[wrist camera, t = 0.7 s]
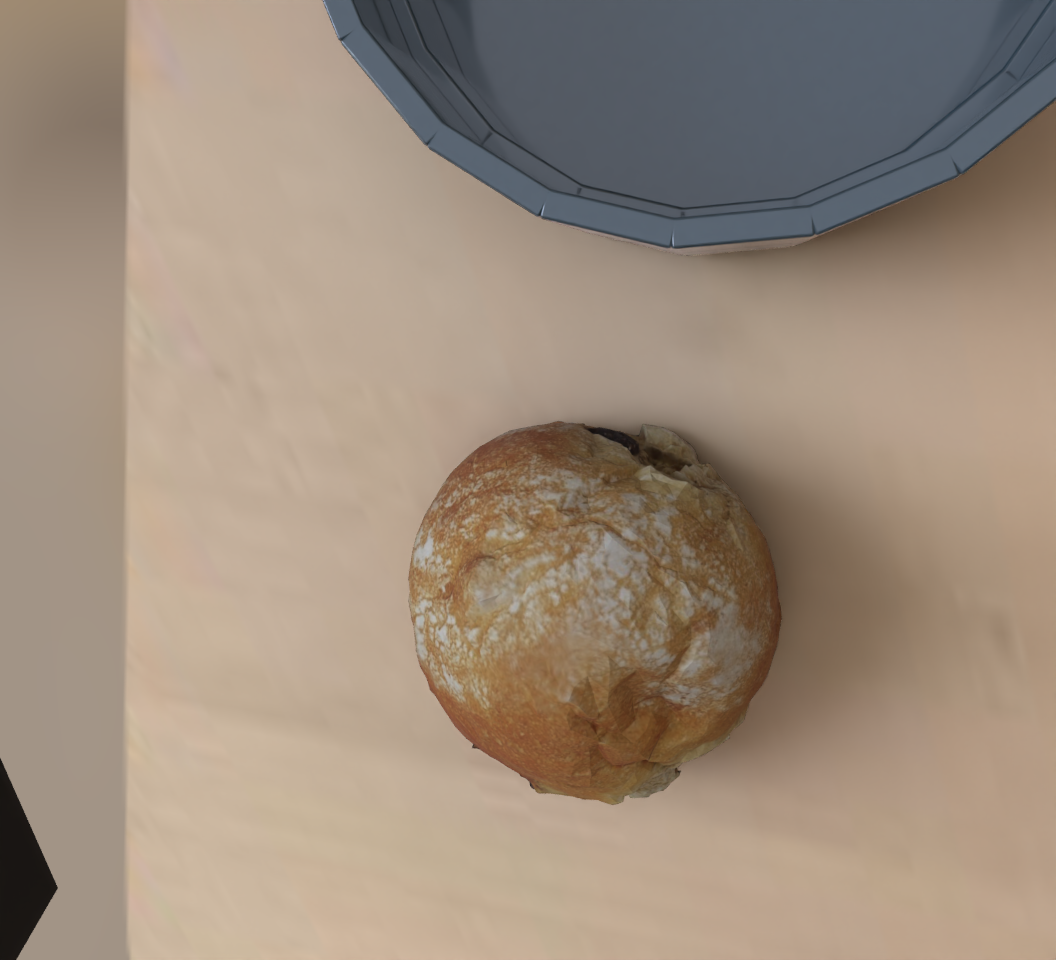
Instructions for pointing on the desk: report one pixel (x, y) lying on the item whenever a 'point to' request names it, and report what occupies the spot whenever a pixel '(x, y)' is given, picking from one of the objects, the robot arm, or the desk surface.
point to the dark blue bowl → (708, 104)
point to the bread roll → (592, 607)
